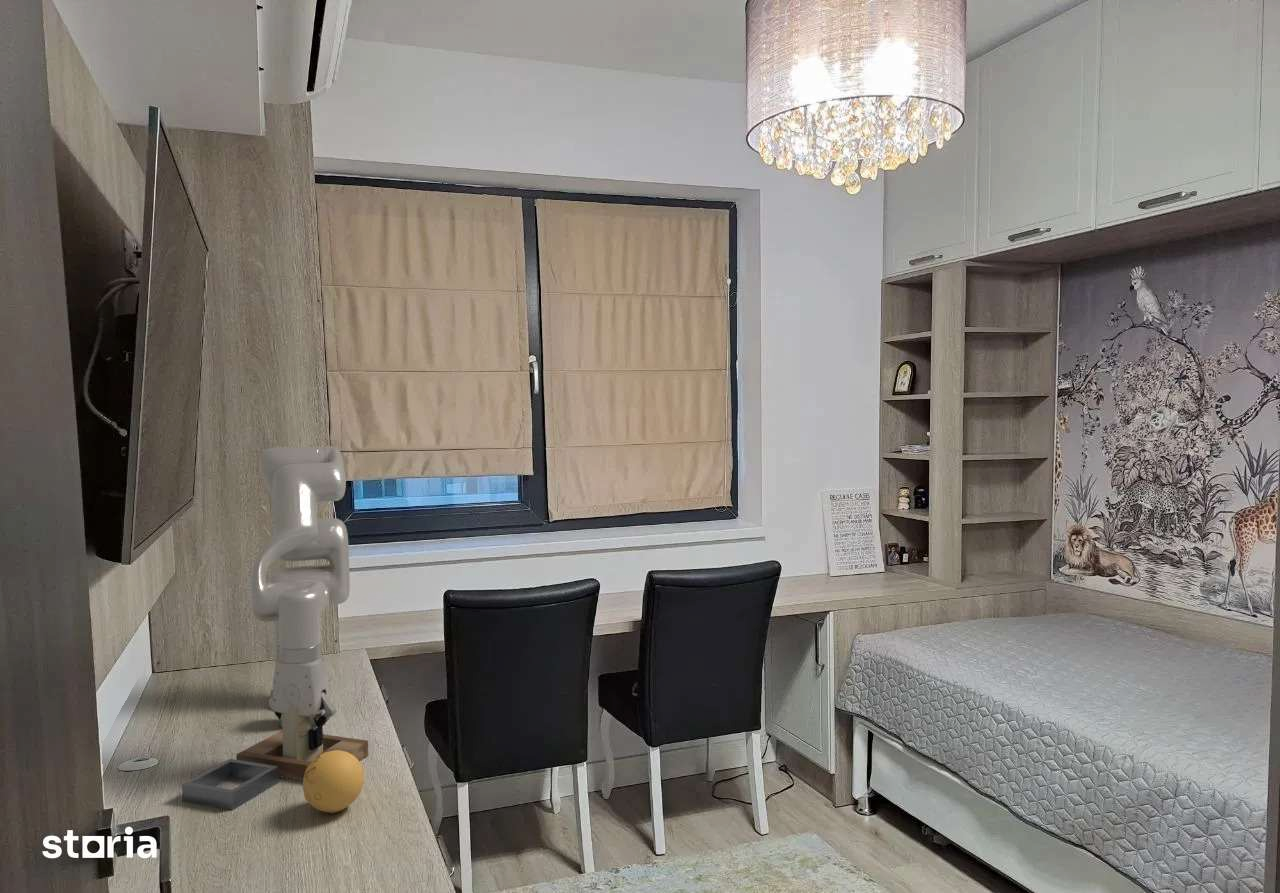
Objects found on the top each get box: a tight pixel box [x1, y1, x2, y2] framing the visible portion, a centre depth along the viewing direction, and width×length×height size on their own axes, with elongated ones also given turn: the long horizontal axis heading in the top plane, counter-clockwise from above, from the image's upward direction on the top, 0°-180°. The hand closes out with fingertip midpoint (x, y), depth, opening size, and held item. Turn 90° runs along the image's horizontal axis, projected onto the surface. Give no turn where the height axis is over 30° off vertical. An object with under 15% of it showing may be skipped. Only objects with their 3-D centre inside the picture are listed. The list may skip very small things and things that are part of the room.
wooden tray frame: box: [236, 729, 369, 781], centre depth 163 cm, size 13×20×3 cm, turn 72°
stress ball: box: [302, 750, 365, 814], centre depth 144 cm, size 10×10×10 cm
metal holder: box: [181, 758, 280, 811], centre depth 151 cm, size 11×11×3 cm
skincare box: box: [281, 706, 323, 761], centre depth 163 cm, size 6×4×12 cm
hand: (303, 744), depth 163 cm, fingers closed on skincare box, 5 cm apart
